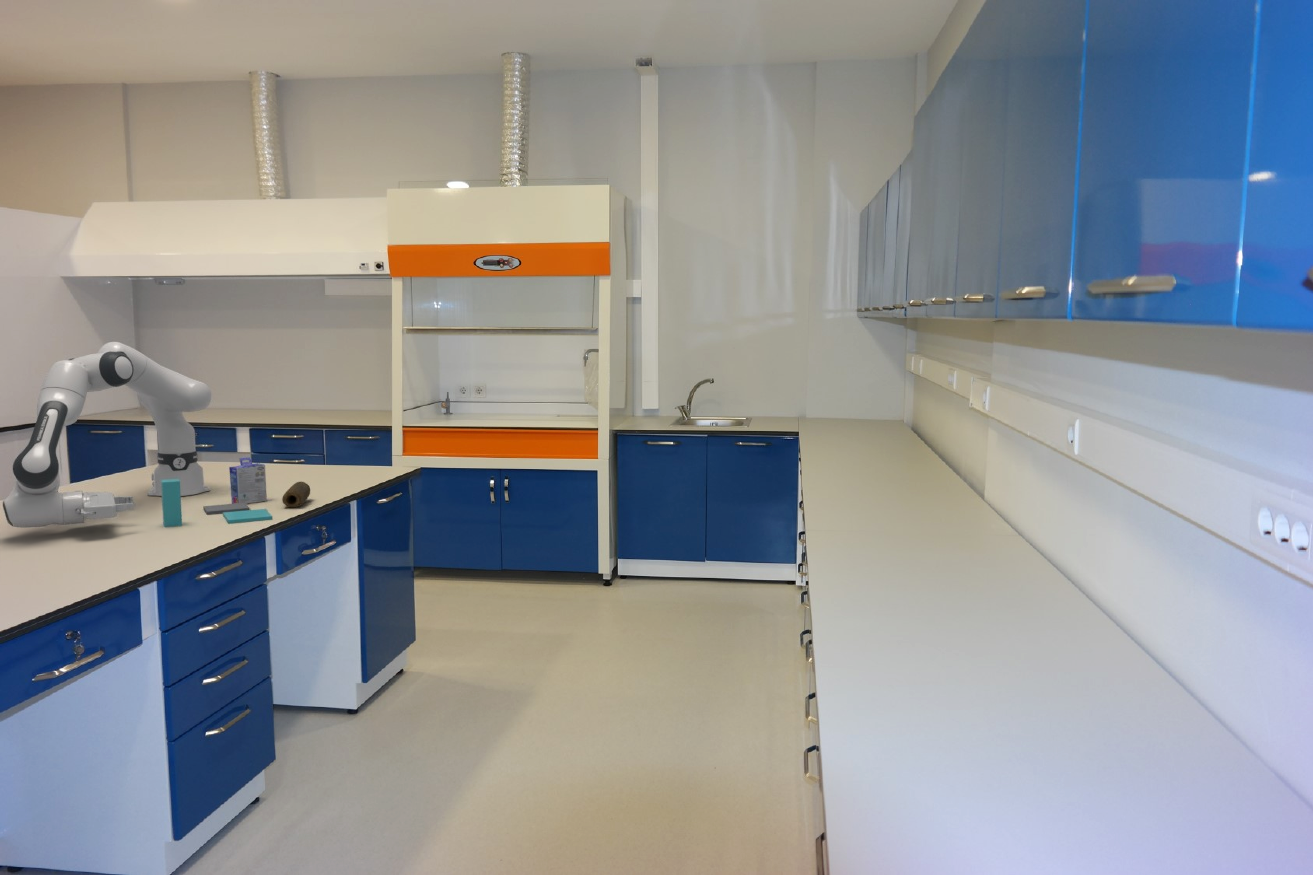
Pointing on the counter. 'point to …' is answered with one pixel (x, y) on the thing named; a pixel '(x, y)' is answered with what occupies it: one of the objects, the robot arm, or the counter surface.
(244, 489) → the ink cartridge box
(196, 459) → the robot arm
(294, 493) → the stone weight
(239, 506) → the charcoal pad
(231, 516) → the teal pad
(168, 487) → the teal column
